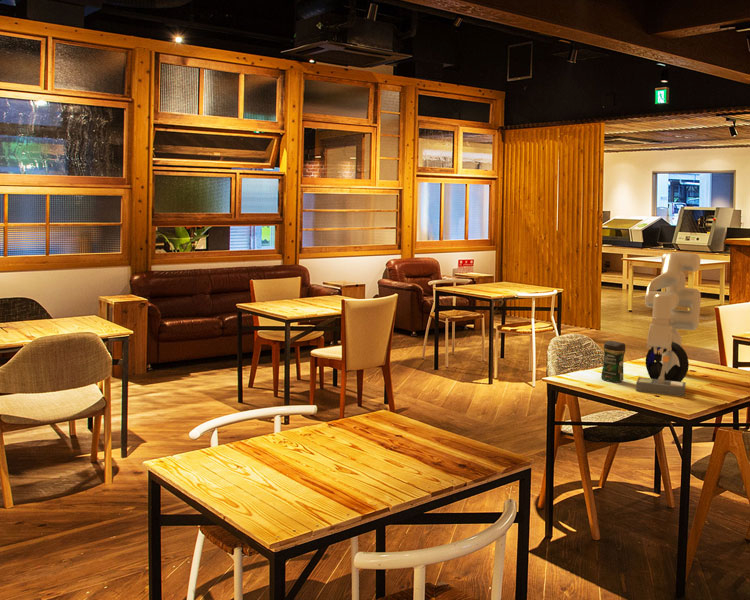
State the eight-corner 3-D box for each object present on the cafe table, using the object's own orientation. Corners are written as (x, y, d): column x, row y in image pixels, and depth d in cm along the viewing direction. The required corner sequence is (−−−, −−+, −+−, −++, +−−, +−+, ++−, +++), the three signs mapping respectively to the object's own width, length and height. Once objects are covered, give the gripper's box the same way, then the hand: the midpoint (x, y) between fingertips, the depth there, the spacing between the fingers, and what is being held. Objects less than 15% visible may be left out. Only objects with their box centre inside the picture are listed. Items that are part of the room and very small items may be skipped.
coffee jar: (598, 379, 363) (601, 340, 361) (607, 377, 369) (610, 339, 366) (616, 383, 356) (619, 344, 354) (625, 381, 362) (628, 342, 359)
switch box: (638, 385, 354) (639, 372, 353) (685, 391, 346) (686, 377, 345) (635, 390, 344) (636, 377, 343) (684, 396, 336) (685, 382, 335)
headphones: (687, 388, 352) (691, 345, 349) (679, 390, 348) (683, 346, 345) (651, 380, 366) (654, 338, 363) (643, 381, 362) (646, 339, 359)
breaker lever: (658, 380, 346) (663, 355, 344) (663, 381, 345) (669, 356, 343) (657, 381, 343) (663, 356, 341) (663, 382, 342) (669, 358, 340)
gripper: (679, 322, 342) (676, 363, 344) (644, 319, 348) (640, 359, 350) (678, 324, 335) (675, 366, 337) (642, 321, 341) (639, 362, 344)
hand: (657, 362), depth 344 cm, fingers closed
